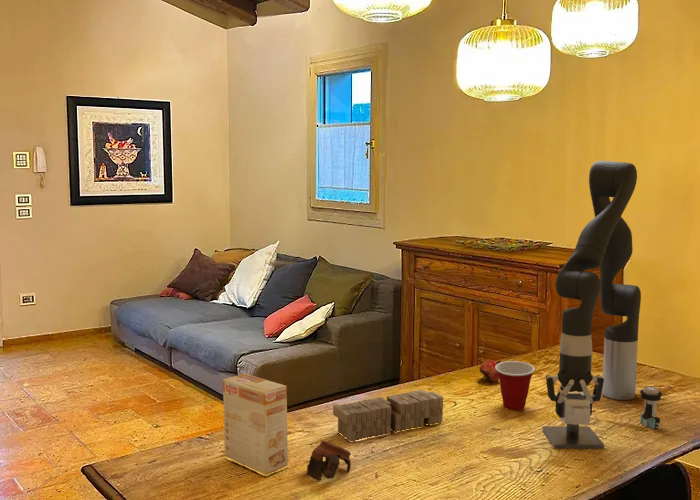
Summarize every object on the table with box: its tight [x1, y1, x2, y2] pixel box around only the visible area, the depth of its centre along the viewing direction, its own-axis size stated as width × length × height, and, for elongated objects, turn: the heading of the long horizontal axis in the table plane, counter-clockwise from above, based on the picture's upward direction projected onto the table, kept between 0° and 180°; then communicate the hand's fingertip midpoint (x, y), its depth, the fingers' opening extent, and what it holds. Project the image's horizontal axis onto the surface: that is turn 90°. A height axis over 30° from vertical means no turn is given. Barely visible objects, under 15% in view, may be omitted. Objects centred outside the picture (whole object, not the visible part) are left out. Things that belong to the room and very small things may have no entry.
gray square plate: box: [542, 424, 605, 450], centre depth 179 cm, size 12×12×9 cm
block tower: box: [332, 389, 444, 441], centre depth 187 cm, size 8×8×29 cm
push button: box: [639, 386, 663, 430], centre depth 188 cm, size 7×5×10 cm
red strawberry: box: [477, 359, 501, 383], centre depth 227 cm, size 7×7×10 cm
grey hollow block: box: [560, 392, 591, 426], centre depth 177 cm, size 10×6×6 cm, turn 179°
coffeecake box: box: [222, 373, 289, 475], centre depth 165 cm, size 15×7×20 cm, turn 47°
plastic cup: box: [495, 360, 536, 412], centre depth 202 cm, size 11×11×12 cm
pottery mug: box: [306, 440, 352, 481], centre depth 160 cm, size 12×10×8 cm
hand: (573, 416), depth 179 cm, fingers closed on grey hollow block, 6 cm apart
